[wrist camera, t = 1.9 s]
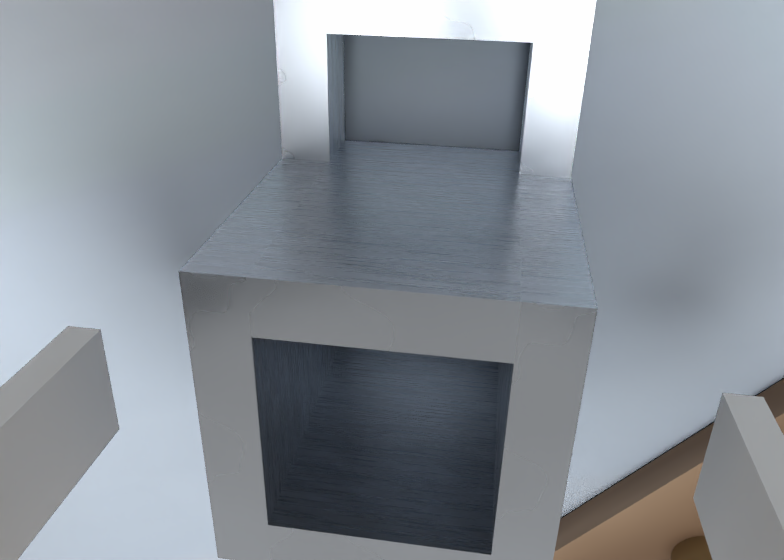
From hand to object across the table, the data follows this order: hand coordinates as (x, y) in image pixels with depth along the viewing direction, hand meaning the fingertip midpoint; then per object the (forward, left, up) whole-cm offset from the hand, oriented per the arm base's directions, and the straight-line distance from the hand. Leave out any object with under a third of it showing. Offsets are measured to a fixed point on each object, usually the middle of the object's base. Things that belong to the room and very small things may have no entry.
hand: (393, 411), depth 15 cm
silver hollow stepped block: (0, 0, -6) cm, 6 cm away
